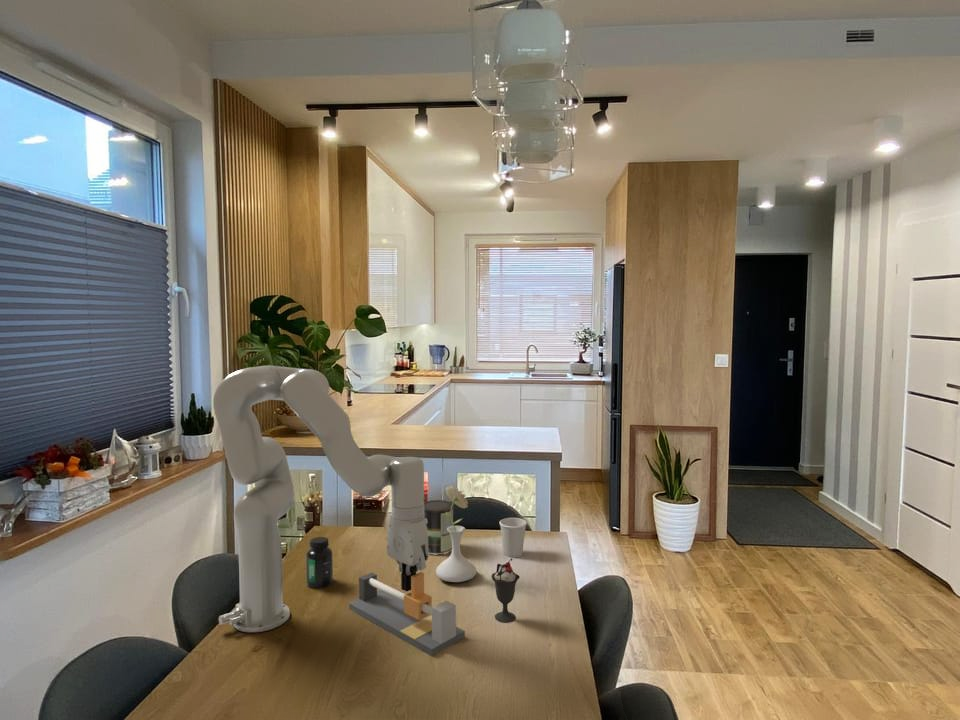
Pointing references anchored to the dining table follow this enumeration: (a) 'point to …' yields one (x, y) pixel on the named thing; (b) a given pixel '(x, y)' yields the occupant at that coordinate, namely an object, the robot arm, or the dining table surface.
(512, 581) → the sundae
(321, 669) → the dining table surface
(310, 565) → the supplement bottle
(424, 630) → the grey slider rail toy
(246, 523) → the robot arm
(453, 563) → the flower in vase
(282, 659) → the dining table surface
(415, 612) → the orange l-shaped block
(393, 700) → the dining table surface
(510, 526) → the dixie cup
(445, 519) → the coffee can
